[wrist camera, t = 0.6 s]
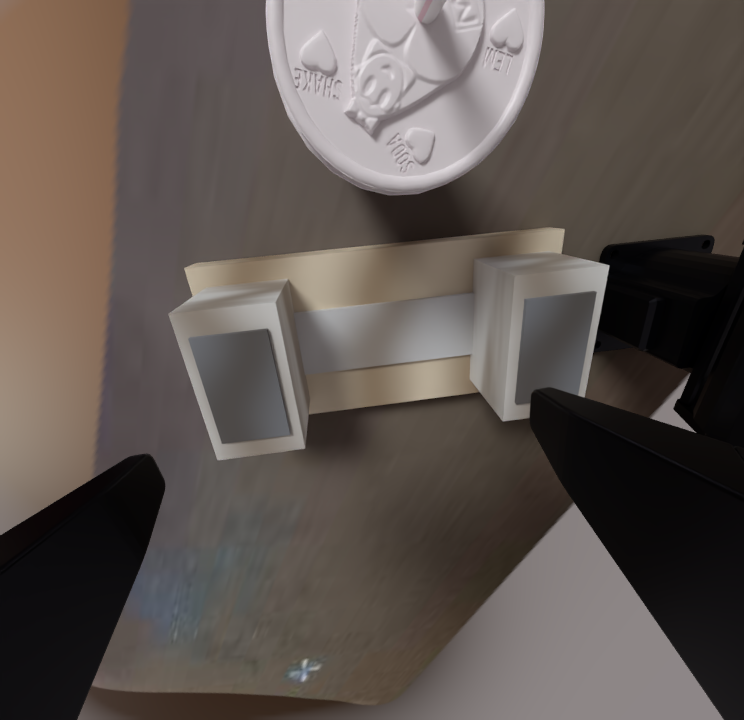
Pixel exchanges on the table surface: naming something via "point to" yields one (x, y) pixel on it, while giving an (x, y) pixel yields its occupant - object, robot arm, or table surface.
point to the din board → (384, 331)
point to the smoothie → (403, 83)
